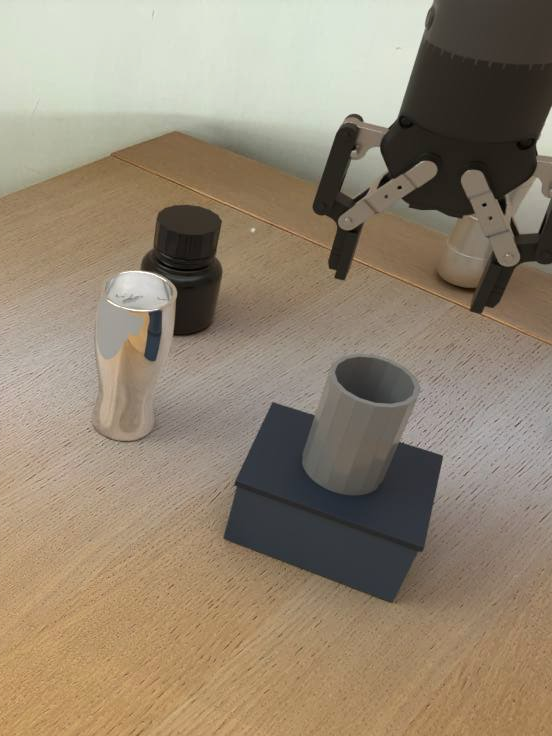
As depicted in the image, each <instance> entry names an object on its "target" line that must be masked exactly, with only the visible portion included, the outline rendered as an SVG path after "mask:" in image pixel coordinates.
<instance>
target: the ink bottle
mask: <svg viewBox="0 0 552 736" xmlns="http://www.w3.org/2000/svg"><path fill="white" fill-rule="evenodd" d="M222 225H223V220H222V219H221V218H220V215H219V214H217V213H216V212H214V211H213V210H211V209H209V208H206V207H202V206H200V205H191V204H173V205H170V206H168V207H164V208H163V209H161V210H160V211H158V213H157V216H156V220H155V228H154V235H153V243H152V247H153V248H152V249H150V250H148V251H147V252H146V253H145V254H144V256H143V257H142V259H141V262H140V267H139V270H141V271H148V272H152V273H156V274H158V275H161V276H163V277H165V278H166V279H168V280H169V281H171V282H172V283H173V285H174V286H175V288H176V290H177V298H176V313H175V325H174V333H173V335H184V334H193V333H196V332H199V331H201V330H204V329H205V328H208V327H209V326H210V325H211V324H212V323H213V321H214V319H215V315H216V309H217V304H218V300H219V294H220V289H221V284H222V279H223V271H224V270H223V266H222V263H221V261H220V260H219V258H218V257H216V255H217V251H218V244H219V239H220V234H221V229H222Z"/></svg>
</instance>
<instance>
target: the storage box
mask: <svg viewBox="0 0 552 736" xmlns="http://www.w3.org/2000/svg"><path fill="white" fill-rule="evenodd" d="M314 417H315V414H312V413H309V412H307V411H302V410H299V409H296V408H293V407H291V406H287V405H283V404H280V403H277V402H273V401H272V402H271V404H270V406H269V408H268V411H267V413H266V415H265V417H264V419H263V421H262V423H261V426H260V427H259V430H258V431H257V433H256V436H255V438H254V440H253V442H252V443H251V447H250V448H249V450H248V453H247V455H246V457H245V459H244V460H243V461H244V462H243V463H242V466H241V468H240V469H239V472H238V473H237V476H236V478H235V480H234V483H233V484H234V485H233V486H234V487H236V488H235V492H234V496H233V500H232V504H231V507H230V510H229V515H228V519H227V523H226V527H225V530H224V533H223V540H227V541H229V542H231V543H235V544H237V545H240V546H242V547H245V548H246V549H247V548H248V549H250V550H253V551H255V552H258V553H260V554H262V555H266V556H268V557H271V558H273V559H276V560H279V561H281V562H284V563H287V564H289V565H291V566H294V567H297V568H300V569H301V570H302V569H303V570H305V571H308V572H310V573H312V574H315V575H318V576H320V577H323V578H326V579H329V580H331V581H333V582H336V583H339V584H342V585H344V586H346V587H349V588H352V589H354V590H357V591H360V592H362V593H365V594H367V595H370V596H373V597H375V598H378V599H381V600H383V601H386V602H389V603H391V604H393V603H394V601H395V599H396V597H397V595H398V593H399V591H400V590H401V588H402V585H403V584H404V581H405V579H406V577H407V575H408V574H409V571H410V569H411V567H412V565H413V564H414V562H415V559H416V557H417V555H418V553H422V552H423V551H424V550H425V546H426V541H427V535H428V531H429V526H430V522H431V521H430V520H431V516H432V512H433V508H434V502H435V497H436V494H437V493H436V492H437V489H438V483H439V480H440V479H439V478H440V473H441V468H442V464H443V460H444V455H443V454H440V453H436V452H433V451H430V450H427V449H424V448H420V447H417V446H414V445H412V444H411V445H410V444H407V443H405V442H401V441H400V442H399V444H398V446H397V449H396V451H395V453H394V456H393V458H392V461H391V463H390V465H389V468H388V470H387V473H386V475H385V477H384V480H383V481H382V483H381V485H380V486H379V487H378V488H377V489H376V490H374V491H373V492H371V493H368V494H365V495H357V496H351V495H343V494H339V493H335V492H332V491H330V490H327V489H325V488H323V487H322V486H320V485H318V484H317V483H316V482H314V481H313V480H312V479H311V478H310V477H309V476H308V474H307V473H306V472H305V470H304V468H303V465H302V456H303V451H304V448H305V445H306V442H307V439H308V436H309V433H310V430H311V427H312V423H313V420H314Z"/></svg>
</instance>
